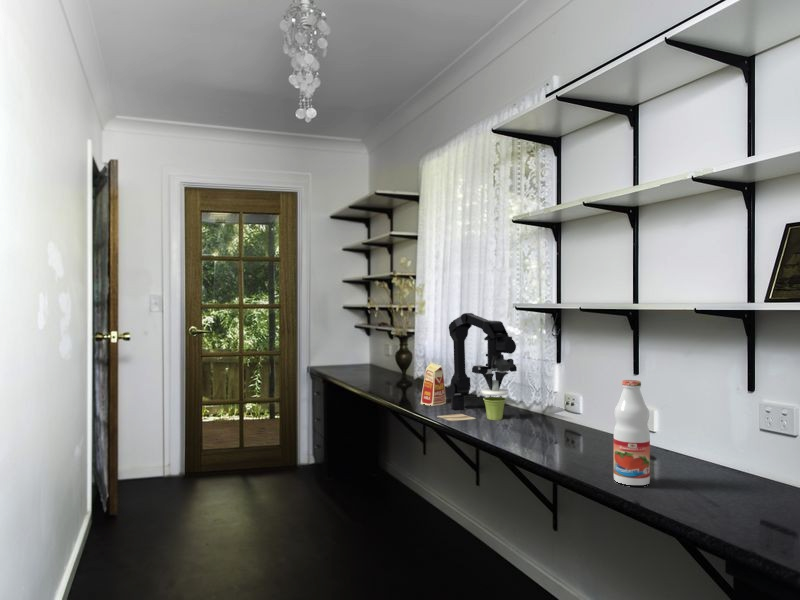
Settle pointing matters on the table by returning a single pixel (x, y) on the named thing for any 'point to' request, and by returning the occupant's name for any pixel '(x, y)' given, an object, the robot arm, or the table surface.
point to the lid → (494, 390)
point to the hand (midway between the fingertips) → (494, 389)
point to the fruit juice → (631, 437)
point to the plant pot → (494, 407)
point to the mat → (456, 417)
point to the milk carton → (433, 386)
